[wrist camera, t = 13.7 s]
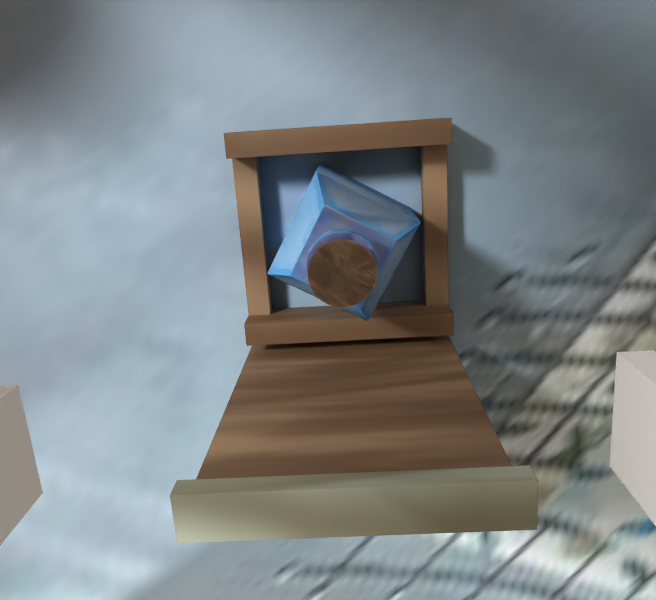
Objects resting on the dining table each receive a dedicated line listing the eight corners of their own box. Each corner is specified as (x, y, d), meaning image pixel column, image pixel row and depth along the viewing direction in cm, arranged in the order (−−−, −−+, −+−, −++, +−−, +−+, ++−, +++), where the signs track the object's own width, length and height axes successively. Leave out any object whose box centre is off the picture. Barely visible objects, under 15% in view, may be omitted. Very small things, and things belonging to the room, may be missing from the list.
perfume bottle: (279, 251, 40) (251, 303, 28) (320, 162, 38) (309, 180, 27) (364, 292, 40) (372, 360, 29) (409, 207, 39) (436, 243, 27)
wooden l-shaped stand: (226, 132, 38) (115, 142, 20) (449, 117, 37) (550, 113, 19) (250, 359, 42) (177, 543, 24) (452, 349, 41) (536, 529, 23)
